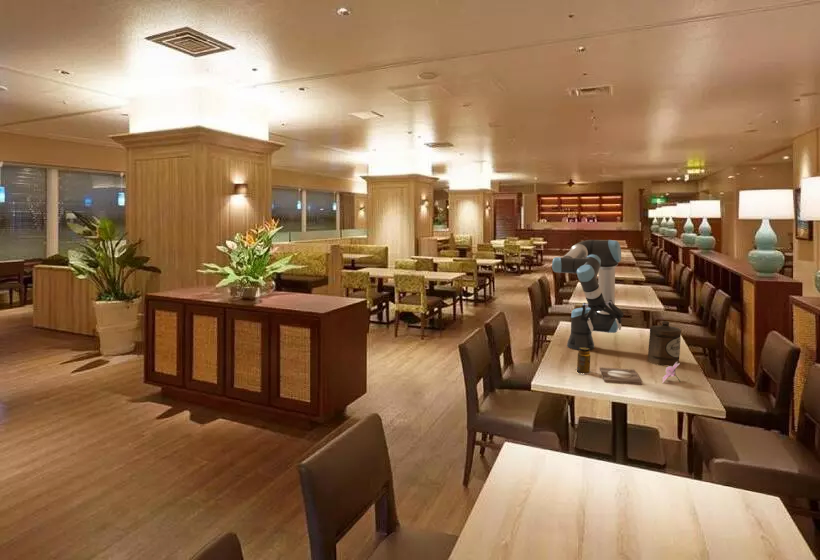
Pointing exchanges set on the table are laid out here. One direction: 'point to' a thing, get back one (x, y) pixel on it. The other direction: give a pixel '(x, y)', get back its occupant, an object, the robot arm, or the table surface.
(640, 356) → the table surface
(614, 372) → the board
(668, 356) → the wooden container
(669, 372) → the lily
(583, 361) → the condiment
